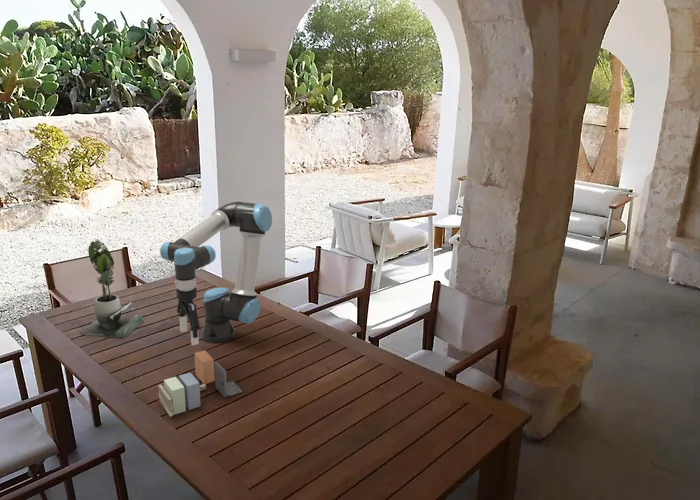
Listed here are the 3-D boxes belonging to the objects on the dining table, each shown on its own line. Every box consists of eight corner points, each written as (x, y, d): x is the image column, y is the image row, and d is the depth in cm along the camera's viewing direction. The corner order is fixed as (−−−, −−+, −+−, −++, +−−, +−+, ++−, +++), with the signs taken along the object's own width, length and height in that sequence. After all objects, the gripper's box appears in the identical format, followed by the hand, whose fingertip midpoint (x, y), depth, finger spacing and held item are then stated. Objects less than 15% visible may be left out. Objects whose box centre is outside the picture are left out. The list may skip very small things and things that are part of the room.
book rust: (206, 371, 239) (204, 350, 236) (214, 381, 232) (213, 359, 229) (195, 374, 236) (194, 353, 233) (204, 384, 229) (202, 362, 226)
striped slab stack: (204, 387, 227) (204, 372, 225) (216, 401, 218) (216, 385, 216) (159, 401, 217) (158, 385, 215) (170, 416, 208) (168, 399, 205)
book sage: (177, 399, 218) (175, 376, 215) (185, 411, 211) (184, 387, 208) (165, 403, 216) (163, 379, 213) (173, 414, 209) (172, 390, 206)
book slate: (191, 395, 222) (190, 372, 218) (200, 406, 215) (199, 382, 212) (180, 398, 219) (178, 375, 216) (189, 410, 212) (187, 386, 209)
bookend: (233, 382, 231) (232, 357, 228) (242, 392, 224) (241, 366, 221) (215, 387, 227) (214, 362, 224) (224, 397, 220) (223, 371, 217)
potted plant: (143, 321, 283) (135, 234, 270) (123, 338, 265) (114, 246, 252) (102, 318, 286) (92, 231, 272) (79, 334, 268) (68, 242, 255)
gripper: (166, 279, 230) (170, 327, 236) (187, 300, 210) (190, 352, 216) (185, 276, 234) (188, 324, 240) (207, 296, 214) (209, 347, 220)
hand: (189, 337), depth 228 cm, fingers open, 13 cm apart
